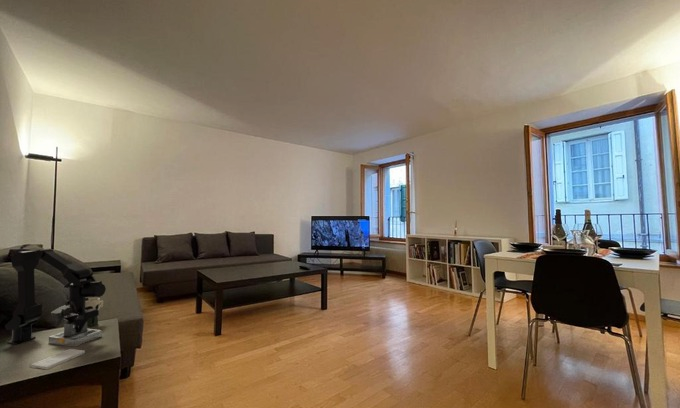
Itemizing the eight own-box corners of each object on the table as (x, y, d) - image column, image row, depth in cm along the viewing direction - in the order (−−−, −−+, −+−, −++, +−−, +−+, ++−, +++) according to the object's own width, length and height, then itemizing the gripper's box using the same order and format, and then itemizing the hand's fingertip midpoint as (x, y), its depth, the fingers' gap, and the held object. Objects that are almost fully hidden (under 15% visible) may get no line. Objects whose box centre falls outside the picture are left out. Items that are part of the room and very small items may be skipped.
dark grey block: (63, 337, 122) (64, 323, 122) (81, 331, 128) (82, 318, 129) (69, 338, 121) (69, 324, 121) (87, 331, 128) (87, 318, 128)
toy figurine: (79, 330, 134) (81, 303, 135) (72, 328, 137) (73, 301, 138) (106, 323, 144) (107, 297, 145) (98, 321, 147) (99, 296, 148)
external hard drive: (84, 354, 112) (46, 371, 100) (69, 352, 114) (29, 368, 102) (84, 350, 112) (46, 366, 100) (69, 348, 114) (29, 364, 102)
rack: (47, 343, 121) (48, 336, 121) (76, 333, 131) (76, 327, 132) (73, 347, 117) (74, 340, 117) (101, 336, 128) (101, 330, 128)
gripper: (39, 300, 120) (37, 337, 119) (72, 303, 115) (70, 342, 115) (70, 293, 131) (68, 327, 130) (100, 296, 126) (99, 331, 126)
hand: (75, 332), depth 125 cm, fingers closed on dark grey block, 3 cm apart
